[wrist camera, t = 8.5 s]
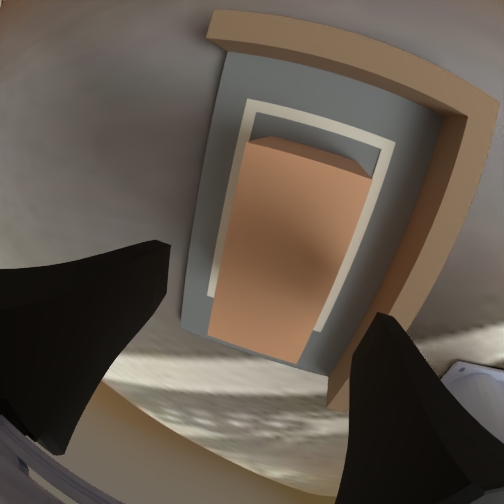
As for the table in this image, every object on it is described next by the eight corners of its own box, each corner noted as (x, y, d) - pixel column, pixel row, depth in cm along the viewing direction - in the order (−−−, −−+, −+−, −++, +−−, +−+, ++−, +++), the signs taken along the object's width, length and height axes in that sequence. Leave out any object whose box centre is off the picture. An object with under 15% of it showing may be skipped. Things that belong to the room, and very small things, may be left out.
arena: (466, 103, 11) (499, 102, 8) (346, 373, 20) (346, 412, 17) (238, 30, 13) (213, 9, 9) (184, 321, 22) (162, 354, 19)
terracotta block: (306, 306, 18) (296, 364, 13) (235, 283, 18) (207, 335, 14) (357, 161, 14) (372, 180, 9) (271, 135, 14) (246, 142, 10)
